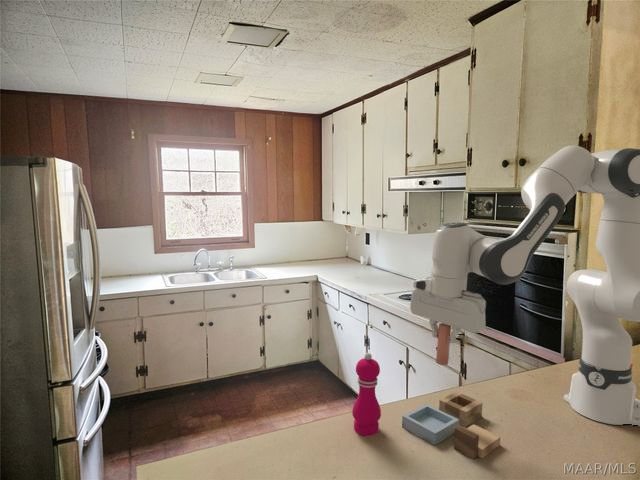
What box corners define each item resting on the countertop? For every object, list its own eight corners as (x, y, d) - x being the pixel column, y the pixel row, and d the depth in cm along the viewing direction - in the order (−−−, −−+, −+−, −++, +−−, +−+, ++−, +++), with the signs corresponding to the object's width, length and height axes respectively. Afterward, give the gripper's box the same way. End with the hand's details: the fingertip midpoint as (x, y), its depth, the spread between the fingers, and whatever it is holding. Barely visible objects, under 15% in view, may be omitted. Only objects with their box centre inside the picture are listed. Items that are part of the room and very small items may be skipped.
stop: (458, 445, 100) (459, 425, 99) (477, 455, 96) (479, 435, 95) (453, 448, 98) (454, 428, 98) (473, 459, 94) (474, 438, 94)
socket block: (455, 404, 119) (456, 391, 118) (481, 416, 113) (482, 402, 112) (438, 413, 114) (439, 399, 113) (465, 426, 108) (466, 412, 107)
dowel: (440, 359, 109) (443, 322, 108) (450, 363, 107) (453, 325, 106) (433, 362, 108) (436, 324, 106) (443, 366, 105) (446, 327, 104)
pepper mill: (379, 438, 102) (382, 360, 99) (350, 435, 103) (351, 357, 101) (381, 423, 109) (383, 349, 106) (353, 419, 110) (355, 346, 108)
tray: (426, 414, 113) (426, 403, 113) (458, 430, 106) (459, 419, 105) (402, 426, 107) (402, 415, 107) (434, 445, 99) (435, 433, 99)
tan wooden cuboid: (473, 433, 105) (473, 424, 105) (499, 446, 100) (500, 437, 100) (454, 445, 100) (455, 435, 100) (481, 459, 95) (482, 449, 95)
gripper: (493, 294, 99) (488, 350, 101) (423, 278, 115) (419, 327, 116) (479, 297, 95) (473, 355, 97) (408, 280, 111) (405, 330, 112)
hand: (443, 339), depth 107 cm, fingers closed on dowel, 3 cm apart
